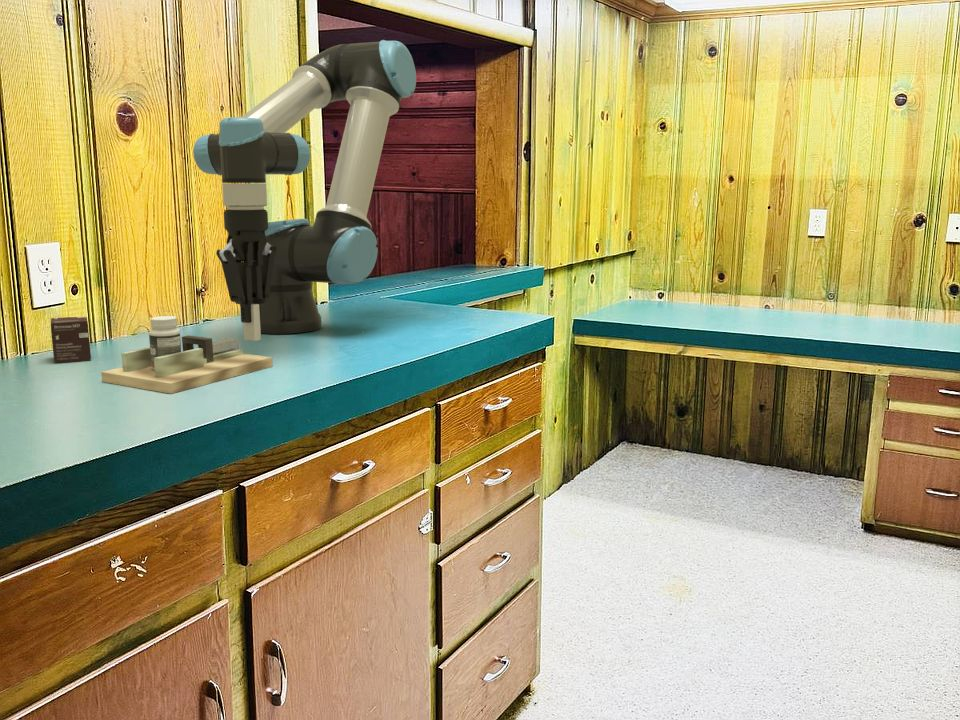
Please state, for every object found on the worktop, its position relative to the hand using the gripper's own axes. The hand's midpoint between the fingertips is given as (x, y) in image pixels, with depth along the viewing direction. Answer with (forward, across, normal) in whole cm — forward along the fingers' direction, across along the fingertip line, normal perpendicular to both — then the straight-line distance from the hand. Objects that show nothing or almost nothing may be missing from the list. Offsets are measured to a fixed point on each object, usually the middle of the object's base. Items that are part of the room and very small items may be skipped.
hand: (252, 339), depth 156 cm
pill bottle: (+2, +20, 0) cm, 20 cm away
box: (+4, +18, -27) cm, 32 cm away
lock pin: (+2, +8, 0) cm, 8 cm away
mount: (+3, +16, +1) cm, 16 cm away
